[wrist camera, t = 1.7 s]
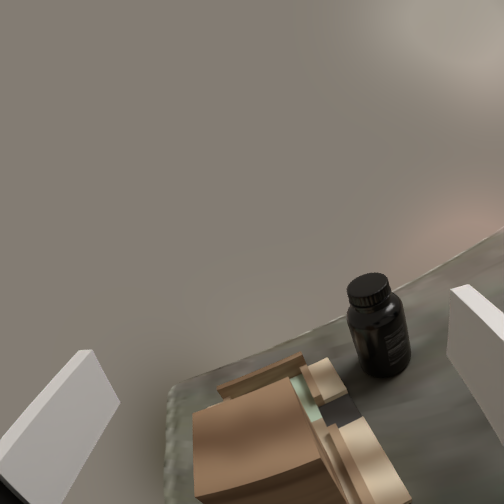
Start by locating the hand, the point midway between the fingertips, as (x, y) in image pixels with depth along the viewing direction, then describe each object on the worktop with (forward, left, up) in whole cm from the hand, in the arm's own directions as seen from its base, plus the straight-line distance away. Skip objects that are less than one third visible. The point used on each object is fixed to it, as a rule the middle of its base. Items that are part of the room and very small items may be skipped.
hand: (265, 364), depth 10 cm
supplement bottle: (+13, -19, -24) cm, 33 cm away
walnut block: (+7, +1, -23) cm, 24 cm away
